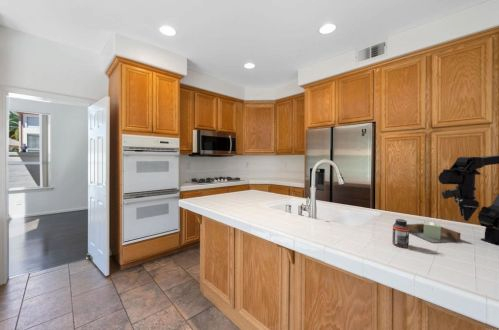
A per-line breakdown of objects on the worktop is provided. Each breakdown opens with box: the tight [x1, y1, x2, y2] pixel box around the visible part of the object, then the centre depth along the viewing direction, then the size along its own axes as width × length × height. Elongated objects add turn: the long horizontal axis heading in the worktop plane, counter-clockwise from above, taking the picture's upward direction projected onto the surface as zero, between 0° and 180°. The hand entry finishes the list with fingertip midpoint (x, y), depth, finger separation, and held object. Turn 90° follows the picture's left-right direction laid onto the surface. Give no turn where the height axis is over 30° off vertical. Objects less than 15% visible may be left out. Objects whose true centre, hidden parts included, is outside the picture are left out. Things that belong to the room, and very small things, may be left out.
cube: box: [423, 221, 442, 240], centre depth 106 cm, size 6×6×6 cm
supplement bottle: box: [392, 218, 410, 248], centre depth 96 cm, size 6×6×11 cm
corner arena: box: [406, 223, 462, 244], centre depth 107 cm, size 14×14×4 cm
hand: (464, 218), depth 100 cm, fingers open, 9 cm apart
